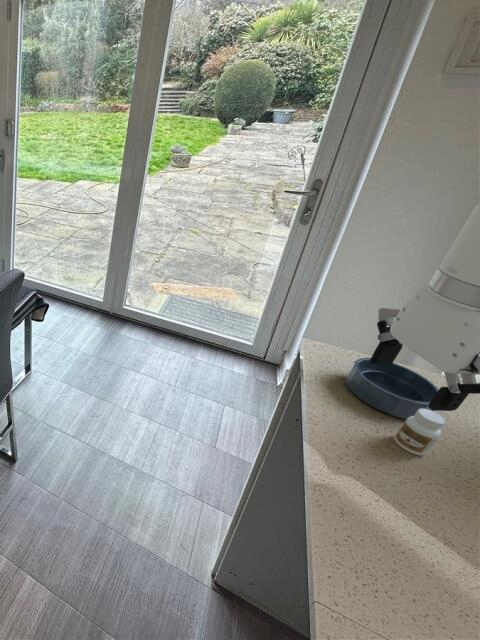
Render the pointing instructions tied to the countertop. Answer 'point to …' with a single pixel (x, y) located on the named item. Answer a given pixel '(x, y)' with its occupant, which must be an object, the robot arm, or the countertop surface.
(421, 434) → the pill bottle
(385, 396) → the bowl
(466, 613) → the countertop surface
